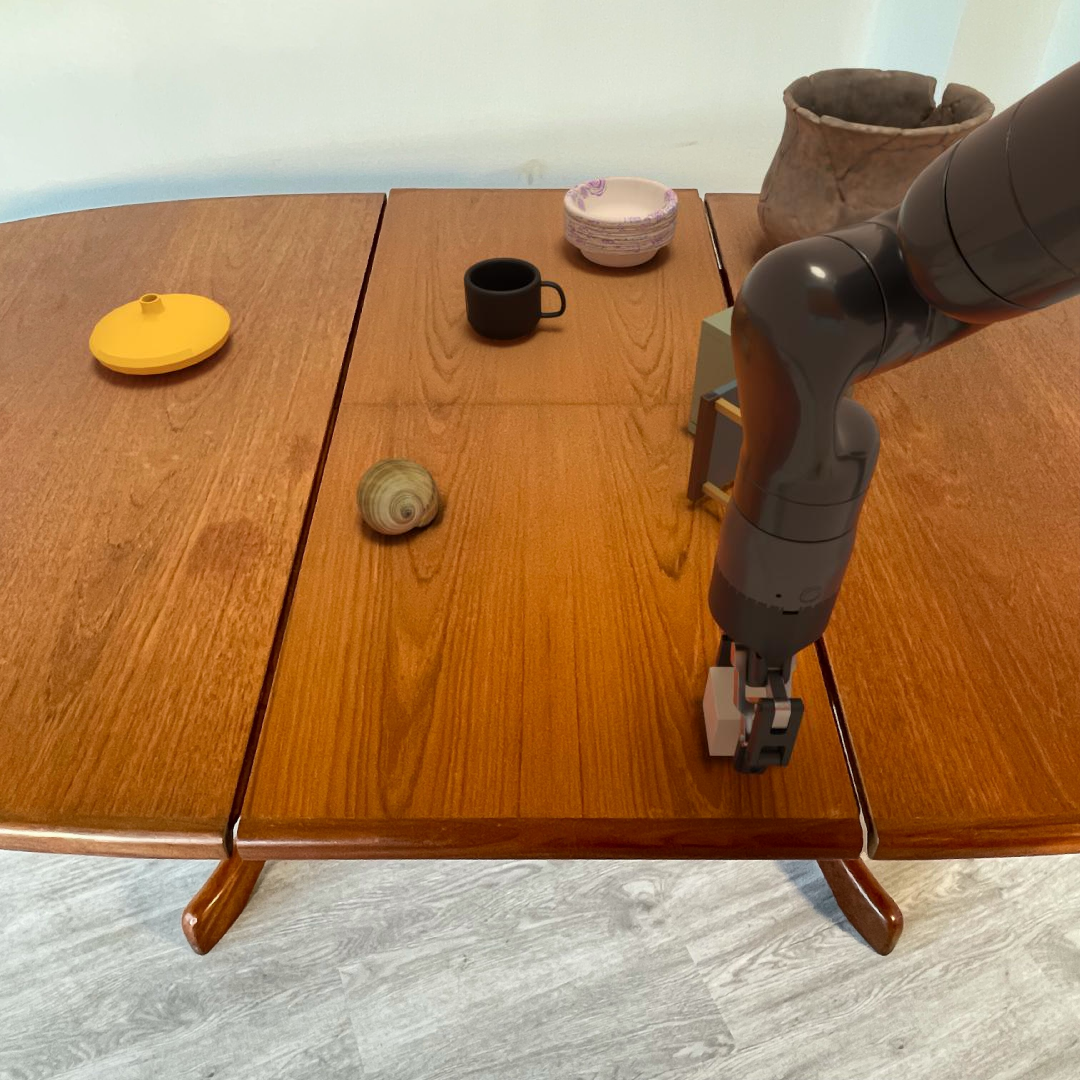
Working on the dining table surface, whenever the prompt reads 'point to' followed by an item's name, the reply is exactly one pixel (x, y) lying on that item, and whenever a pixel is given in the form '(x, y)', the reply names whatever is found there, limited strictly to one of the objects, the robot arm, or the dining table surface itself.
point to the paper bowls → (620, 219)
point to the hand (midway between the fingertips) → (738, 716)
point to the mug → (506, 298)
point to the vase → (160, 333)
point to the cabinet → (716, 361)
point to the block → (723, 711)
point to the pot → (858, 146)
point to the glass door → (716, 444)
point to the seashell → (397, 496)
